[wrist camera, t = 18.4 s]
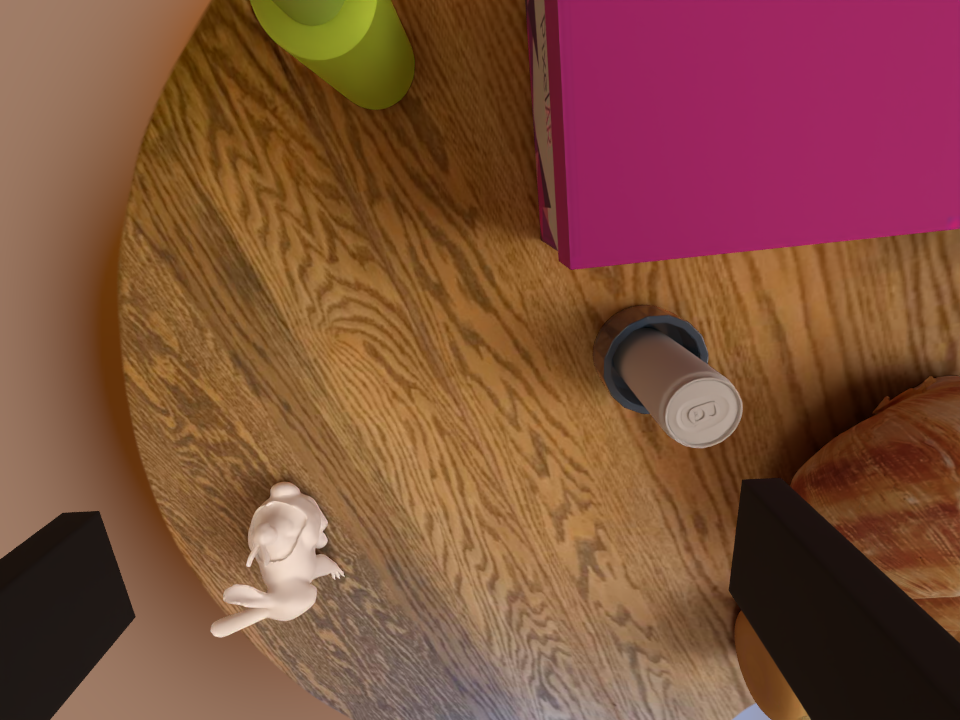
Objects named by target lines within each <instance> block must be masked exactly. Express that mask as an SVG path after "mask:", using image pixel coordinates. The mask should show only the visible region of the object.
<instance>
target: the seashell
mask: <svg viewBox="0 0 960 720" xmlns="http://www.w3.org/2000/svg"><path fill="white" fill-rule="evenodd" d="M872 413H873V414H876V415H875V416H873V417H870V418H868V419H866V420H864V421H862V422H860V423H859V424H857V425H855V426H854V427H852V428H850V429H849V430H847V431H845V432H843V433H842V434H840V435H838V436H837V437H835V438H834V439H833V440H831V441H830V442H828V443H827V444H826V445H825V446H824V447H822V448H821V449H820V450H819V451H818V452H817V453H816V454H815V455H814V456H812V457H811V458H810V459H809V460H808V461H807V462H806V463H805V464H804V465H803V466H802V467H801V468H800V469H799V470H798V471H797V472H796V474H795V475H794V477H793V479H792V482H791V484H790V487H791V488H792V489H793V490H794V491H796V492H797V493H798V494H799V495H800V496H801V497H802V498H803V499H804V500H805V501H806V502H807V503H809V504H810V505H811V506H812V507H813V508H814V509H815V510H816V511H817V512H818V513H819V514H820V515H822V516H823V517H824V518H825V519H826V520H827V521H828V522H829V523H830V524H831V525H832V526H833V527H835V528H836V529H837V530H838V531H839V532H840V533H841V534H842V535H843V536H844V537H845V538H846V539H848V540H849V541H850V542H851V543H852V544H853V545H854V546H855V547H856V548H857V549H858V550H860V551H861V552H862V553H863V554H864V555H865V556H866V557H867V558H868V559H869V560H870V561H871V562H873V563H874V564H875V565H876V566H877V567H878V568H879V569H880V570H881V571H882V572H883V573H884V574H886V575H887V576H888V577H889V578H890V579H891V580H892V581H893V582H894V583H895V584H896V585H897V586H899V587H900V588H901V589H902V590H903V591H904V592H905V593H906V594H907V595H908V596H909V597H910V598H912V599H913V600H914V601H915V602H916V603H917V604H918V605H919V606H920V607H921V608H922V609H923V610H925V611H926V612H927V613H928V614H929V615H930V616H931V617H932V618H933V619H934V620H935V621H937V622H938V623H939V624H940V625H941V626H942V627H943V628H944V629H945V630H946V631H947V632H948V633H950V634H951V635H952V636H953V637H954V638H955V639H956V640H957V641H958V642H959V643H960V376H943V377H937V378H933V377H932V376H930V377H928V378H927V379H926V380H925V381H924V382H923V383H921V384H920V385H918V386H917V387H916V388H914V389H913V388H910V389H908V390H906V391H905V392H903V393H901V394H899V395H898V396H896V397H895V398H893V399H892V400H890V397H888V396H886V397H885V398H884V399H883V401H882V402H881V403H880V404H879V406H878V407H877V408H876V409H875V410H874V411H873V412H872Z"/></svg>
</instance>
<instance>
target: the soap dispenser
mask: <svg viewBox="0 0 960 720" xmlns="http://www.w3.org/2000/svg"><path fill="white" fill-rule="evenodd" d="M250 2H251V5H252V8H253V10H254V13H255V15H256V17H257V19H258V21H259V22H260V24H261V26H262V27H263V29H264V30H265V31H266V33H267V34H268V35H269V36H270V37H271V38H272V39H273V40H274V41H275V42H276V43H277V44H278V45H279V46H280V47H282V48H283V49H284V50H286V51H287V52H288V53H289V54H291V55H292V56H293V57H295V58H296V59H297V60H298V61H300V62H301V63H302V64H304V65H305V66H306V67H308V68H309V69H310V70H311V71H313V72H314V73H315V74H317V75H318V76H319V77H320V78H322V79H323V80H324V81H326V82H327V83H328V84H329V85H331V86H332V87H333V88H335V89H336V90H337V91H339V92H340V93H341V94H342V95H344V96H345V97H346V98H348V99H349V100H350V101H351V102H353V103H354V104H356V105H358V106H360V107H363V108H366V109H372V110H379V109H385V108H388V107H390V106H392V105H394V104H396V103H397V102H399V101H400V100H401V99H402V98H403V97H404V96H405V94H406V93H407V91H408V90H409V88H410V86H411V83H412V80H413V77H414V70H415V60H414V54H413V50H412V47H411V44H410V42H409V39H408V37H407V35H406V33H405V30H404V28H403V26H402V24H401V21H400V19H399V17H398V15H397V12H396V10H395V8H394V6H393V4H392V1H391V0H250Z"/></svg>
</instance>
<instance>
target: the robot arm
mask: <svg viewBox="0 0 960 720" xmlns="http://www.w3.org/2000/svg"><path fill="white" fill-rule="evenodd" d="M729 592H730V593H731V595H732V596H733V598H734V600H735V601H736V603H737V604H738V606H739V607H740V609H741V611H742V612H743V614H744V615H745V617H746V618H747V620H748V622H749V623H750V625H751V626H752V628H753V629H754V631H755V633H756V634H757V636H758V637H759V639H760V640H761V642H762V643H763V645H764V647H765V648H766V650H767V651H768V653H769V654H770V656H771V658H772V659H773V661H774V662H775V664H776V665H777V667H778V669H779V670H780V672H781V673H782V675H783V676H784V678H785V680H786V681H787V683H788V684H789V686H790V687H791V689H792V691H793V692H794V694H795V695H796V697H797V698H798V700H799V702H800V703H801V705H802V706H803V708H804V709H805V711H806V713H807V714H808V716H809V717H810V719H811V720H960V643H959V642H958V641H957V640H956V639H955V638H954V637H953V636H952V635H951V634H950V633H948V632H947V631H946V630H945V629H944V628H943V627H942V626H941V625H940V624H939V623H938V622H937V621H935V620H934V619H933V618H932V617H931V616H930V615H929V614H928V613H927V612H926V611H925V610H923V609H922V608H921V607H920V606H919V605H918V604H917V603H916V602H915V601H914V600H913V599H912V598H910V597H909V596H908V595H907V594H906V593H905V592H904V591H903V590H902V589H901V588H900V587H899V586H897V585H896V584H895V583H894V582H893V581H892V580H891V579H890V578H889V577H888V576H887V575H886V574H884V573H883V572H882V571H881V570H880V569H879V568H878V567H877V566H876V565H875V564H874V563H873V562H871V561H870V560H869V559H868V558H867V557H866V556H865V555H864V554H863V553H862V552H861V551H860V550H858V549H857V548H856V547H855V546H854V545H853V544H852V543H851V542H850V541H849V540H848V539H846V538H845V537H844V536H843V535H842V534H841V533H840V532H839V531H838V530H837V529H836V528H835V527H833V526H832V525H831V524H830V523H829V522H828V521H827V520H826V519H825V518H824V517H823V516H822V515H820V514H819V513H818V512H817V511H816V510H815V509H814V508H813V507H812V506H811V505H810V504H809V503H807V502H806V501H805V500H804V499H803V498H802V497H801V496H800V495H799V494H798V493H797V492H796V491H794V490H793V489H792V488H791V487H790V486H789V485H788V484H787V483H786V482H785V481H784V480H783V479H781V478H767V479H746V480H742V485H741V493H740V502H739V510H738V518H737V527H736V535H735V543H734V552H733V560H732V568H731V576H730V585H729ZM134 618H135V614H134V611H133V608H132V605H131V602H130V599H129V596H128V593H127V590H126V588H125V585H124V582H123V579H122V576H121V573H120V570H119V567H118V564H117V561H116V559H115V556H114V553H113V550H112V547H111V544H110V541H109V538H108V535H107V532H106V529H105V527H104V523H103V521H102V518H101V515H100V512H99V511H91V512H72V513H62V514H61V515H59V516H58V517H57V518H55V519H54V520H53V521H51V522H50V523H48V524H47V525H46V526H44V527H43V528H42V529H40V530H39V531H38V532H36V533H35V534H34V535H32V536H31V537H30V538H28V539H27V540H26V541H24V542H23V543H22V544H20V545H19V546H18V547H16V548H15V549H14V550H12V551H11V552H9V553H8V554H7V555H6V556H4V557H3V558H1V559H0V720H50V719H51V718H52V717H53V716H54V714H55V713H56V712H57V711H58V710H59V708H60V707H61V706H62V705H63V704H64V702H65V701H66V700H67V699H68V698H69V696H70V695H71V694H72V693H73V692H74V690H75V689H76V688H77V687H78V686H79V684H80V683H81V682H82V681H83V679H84V678H85V677H86V676H87V675H88V674H89V672H90V671H91V670H92V669H93V668H94V666H95V665H96V664H97V663H98V662H99V660H100V659H101V658H102V657H103V656H104V654H105V653H106V652H107V651H108V649H109V648H110V647H111V646H112V645H113V643H114V642H115V641H116V640H117V639H118V637H119V636H120V635H121V634H122V633H123V631H124V630H125V629H126V628H127V626H128V625H129V624H130V623H131V622H132V621H133V619H134Z"/></svg>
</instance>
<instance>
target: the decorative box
mask: <svg viewBox="0 0 960 720" xmlns="http://www.w3.org/2000/svg"><path fill="white" fill-rule="evenodd" d="M525 5H526V20H527V35H528V50H529V65H530V81H531V96H532V111H533V126H534V141H535V156H536V172H537V187H538V202H539V217H540V232H541V240H542V241H543V242H545V243H546V244H548V245H549V246H551V247H552V248H554V249H555V250H557V251H558V256H559V261H560V262H561V263H562V264H564V265H565V266H566V267H568V268H569V269H570V270H573V269H583V268H592V267H602V266H611V265H621V264H630V263H640V262H649V261H659V260H668V259H678V258H687V257H697V256H706V255H716V254H725V253H735V252H744V251H754V250H763V249H773V248H782V247H792V246H801V245H810V244H820V243H829V242H839V241H848V240H858V239H867V238H877V237H886V236H896V235H905V234H915V233H924V232H934V231H943V230H953V229H960V0H525Z"/></svg>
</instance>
